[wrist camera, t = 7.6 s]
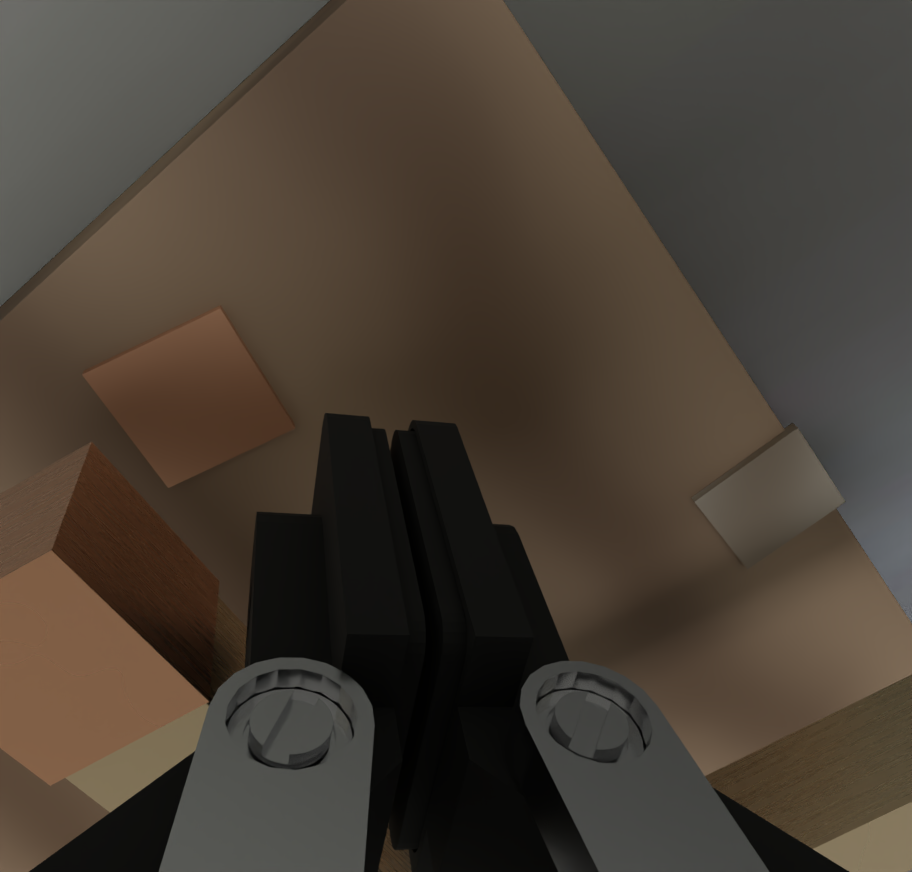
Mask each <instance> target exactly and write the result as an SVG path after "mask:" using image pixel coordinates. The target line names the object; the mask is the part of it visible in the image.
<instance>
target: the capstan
mask: <svg viewBox="0 0 912 872" xmlns="http://www.w3.org/2000/svg"><path fill="white" fill-rule="evenodd" d="M218 593H219V580H218V579H217V578H216V577H215V576H214V575H213V574H212V573H211V572H210V571H209V569H208V568H207V567H206V566H205V565H204V564H203V563H202V562H201V561H200V560H199V559H198V557H197V556H196V555H195V554H194V553H193V552H192V551H191V550H190V549H189V548H188V546H187V545H186V544H185V543H184V542H183V541H182V540H181V539H180V538H179V537H178V536H177V534H176V533H175V532H174V531H173V530H172V529H171V528H170V527H169V526H168V525H167V524H166V522H165V521H164V520H163V519H162V518H161V517H160V516H159V515H158V514H157V513H156V512H155V510H154V509H153V508H152V507H151V506H150V505H149V504H148V503H147V502H146V501H145V499H144V498H143V497H142V496H141V495H140V494H139V493H138V492H137V491H136V490H135V489H134V487H133V486H132V485H131V484H130V483H129V482H128V481H127V480H126V479H125V478H124V477H123V475H122V474H121V473H120V472H119V471H118V470H117V469H116V468H115V467H114V466H113V465H112V463H111V462H110V461H109V460H108V459H107V458H106V457H105V456H104V455H103V454H102V452H101V451H100V450H99V449H98V448H97V447H96V446H95V445H94V444H93V443H92V442H90V443H88V444H87V445H85V446H83V447H81V448H80V449H78V450H76V451H74V452H73V453H71V454H69V455H67V456H66V457H64V458H62V459H60V460H58V461H57V462H55V463H53V464H51V465H50V466H48V467H46V468H44V469H43V470H41V471H39V472H37V473H35V474H34V475H32V476H30V477H28V478H27V479H25V480H23V481H21V482H20V483H18V484H16V485H14V486H13V487H11V488H9V489H7V490H5V491H4V492H2V493H0V748H1V749H2V750H3V751H5V752H6V753H7V754H9V755H10V756H11V757H13V758H14V759H15V760H17V761H18V762H19V763H21V764H22V765H23V766H25V767H26V768H27V769H29V770H30V771H31V772H33V773H34V774H35V775H36V776H38V777H39V778H40V779H42V780H43V781H44V782H46V783H47V784H48V785H50V786H51V785H53V784H55V783H57V782H59V781H60V780H62V779H64V778H66V779H67V780H68V781H70V782H71V783H72V784H74V785H75V786H76V787H78V788H79V789H80V790H81V791H83V792H84V793H85V794H87V795H88V796H89V797H91V798H92V799H93V800H94V801H96V802H97V803H98V804H100V805H101V806H102V807H103V808H105V809H106V810H107V811H109V812H112V811H113V810H114V809H116V808H117V807H118V806H120V805H121V804H123V803H124V802H125V801H127V800H128V799H129V798H131V797H132V796H134V795H135V794H136V793H138V792H139V791H141V790H142V789H143V788H145V787H146V786H147V785H149V784H150V783H152V782H153V781H154V780H156V779H157V778H158V777H160V776H161V775H163V774H164V773H165V772H167V771H168V770H169V769H171V768H172V767H174V766H175V765H176V764H178V763H179V762H180V761H182V760H183V759H185V758H186V757H187V756H189V755H190V754H191V753H193V752H194V751H195V750H196V747H197V743H198V740H199V737H200V733H201V730H202V727H203V723H204V720H205V717H206V713H207V710H208V707H209V705H210V703H211V701H212V699H213V697H214V695H215V694H216V692H217V690H218V688H219V687H220V686H221V685H222V684H223V683H224V682H226V681H227V680H228V679H229V678H230V677H231V676H232V675H233V674H234V673H236V672H238V671H240V670H242V669H244V668H245V653H246V634H247V627H246V626H245V625H244V624H243V623H242V622H241V621H240V620H239V619H238V617H237V616H236V615H235V614H234V613H233V612H232V611H231V610H230V609H229V608H228V607H227V606H226V605H225V604H224V602H223V601H222V600H221V599H220V598H219V597H218ZM705 777H706V778H707V780H708V781H709V783H710V784H711V786H712V787H713V788H715V789H716V790H718V791H720V792H721V793H723V794H724V795H726V796H728V797H729V798H731V799H732V800H734V801H736V802H737V803H739V804H741V805H742V806H744V807H745V808H747V809H749V810H750V811H752V812H754V813H755V814H757V815H758V816H760V817H762V818H763V819H765V820H766V821H768V822H770V823H771V824H773V825H775V826H776V827H778V828H779V829H781V830H783V831H784V832H786V833H788V834H789V835H791V836H792V837H794V838H796V839H797V840H799V841H800V842H802V843H804V844H805V845H807V846H809V847H810V848H812V849H813V850H815V851H817V852H818V853H820V854H822V855H823V856H825V857H826V858H828V859H830V860H831V861H833V862H834V863H836V864H838V865H839V866H841V867H843V868H844V869H846V870H847V871H849V872H907V871H909V870H911V869H912V675H910V676H908V677H906V678H904V679H902V680H899V681H897V682H895V683H893V684H891V685H889V686H887V687H885V688H883V689H881V690H879V691H877V692H875V693H873V694H871V695H869V696H867V697H865V698H863V699H861V700H859V701H857V702H855V703H853V704H851V705H849V706H847V707H845V708H843V709H840V710H838V711H836V712H834V713H832V714H830V715H828V716H826V717H824V718H822V719H820V720H818V721H816V722H814V723H812V724H810V725H808V726H806V727H804V728H802V729H800V730H798V731H796V732H794V733H792V734H790V735H788V736H786V737H784V738H782V739H779V740H777V741H775V742H773V743H771V744H769V745H767V746H765V747H763V748H761V749H759V750H757V751H755V752H753V753H751V754H749V755H747V756H745V757H743V758H741V759H739V760H737V761H735V762H733V763H731V764H729V765H727V766H725V767H723V768H721V769H718V770H716V771H714V772H712V773H710V774H708V775H706V776H705ZM378 872H412V871H411V864H410V857H409V850H394V849H393V847H392V844H391V838H390V830H389V824H388V828H387V833H386V837H385V842H384V846H383V851H382V855H381V860H380V864H379V869H378Z"/></svg>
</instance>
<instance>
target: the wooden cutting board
mask: <svg viewBox="0 0 912 872" xmlns="http://www.w3.org/2000/svg"><path fill="white" fill-rule="evenodd" d="M325 413H333V414H345V415H357V416H368V417H369V418H370V421H371V427H372V428H379V429H385V431H386V434H387V439H388V444H389V449H390V448H391V442H392V437H393V434H394V431H395V430H406V431H408V428H409V425H410V423H411V421H412V420H420V421H432V422H444V423H455V424H456V426H457V427H458V430H459V433H460V436H461V438H462V441H463V444H464V447H465V449H466V452H467V455H468V458H469V460H470V463H471V466H472V469H473V471H474V474H475V477H476V480H477V482H478V485H479V488H480V491H481V493H482V496H483V499H484V502H485V504H486V507H487V510H488V513H489V515H490V518H491V521H492V524H505V525H511V526H513V527H515V529H516V531H517V532H518V534H519V536H520V539H521V541H522V544H523V546H524V549H525V551H526V554H527V556H528V559H529V561H530V564H531V566H532V569H533V571H534V574H535V576H536V579H537V581H538V584H539V586H540V589H541V591H542V594H543V596H544V599H545V601H546V604H547V606H548V608H549V611H550V613H551V616H552V618H553V621H554V623H555V626H556V628H557V631H558V633H559V636H560V638H561V641H562V643H563V646H564V648H565V651H566V653H567V656H568V658H569V661H584V662H588V663H592V664H596V665H600V666H604V667H606V668H609V669H611V670H613V671H615V672H617V673H619V674H621V675H624V676H625V677H627V678H628V679H630V680H631V681H632V682H634V683H635V684H636V685H638V686H639V687H640V688H642V689H643V690H644V691H645V692H646V693H647V694H648V696H649V697H650V698H651V699H652V700H653V701H654V702H655V704H656V705H657V706H658V707H659V709H660V710H661V712H662V713H663V715H664V716H665V718H666V719H667V721H668V722H669V724H670V725H671V727H672V728H673V730H674V731H675V733H676V734H677V735H678V737H679V738H680V740H681V741H682V743H683V744H684V746H685V747H686V749H687V750H688V752H689V753H690V755H691V756H692V758H693V759H694V761H695V762H696V764H697V765H698V767H699V768H700V770H701V771H702V773H703V774H704V776H706V775H708V774H710V773H712V772H714V771H716V770H718V769H721V768H723V767H725V766H727V765H729V764H731V763H733V762H735V761H737V760H739V759H741V758H743V757H745V756H747V755H749V754H751V753H753V752H755V751H757V750H759V749H761V748H763V747H765V746H767V745H769V744H771V743H773V742H775V741H777V740H779V739H782V738H784V737H786V736H788V735H790V734H792V733H794V732H796V731H798V730H800V729H802V728H804V727H806V726H808V725H810V724H812V723H814V722H816V721H818V720H820V719H822V718H824V717H826V716H828V715H830V714H832V713H834V712H836V711H838V710H840V709H843V708H845V707H847V706H849V705H851V704H853V703H855V702H857V701H859V700H861V699H863V698H865V697H867V696H869V695H871V694H873V693H875V692H877V691H879V690H881V689H883V688H885V687H887V686H889V685H891V684H893V683H895V682H897V681H899V680H902V679H904V678H906V677H908V676H910V675H912V623H911V622H910V620H909V619H908V617H907V616H906V614H905V613H904V611H903V609H902V608H901V606H900V605H899V603H898V602H897V600H896V599H895V597H894V596H893V594H892V593H891V591H890V590H889V588H888V587H887V585H886V584H885V582H884V580H883V579H882V577H881V576H880V574H879V573H878V571H877V570H876V568H875V567H874V565H873V564H872V562H871V561H870V559H869V558H868V556H867V555H866V553H865V552H864V550H863V548H862V547H861V545H860V544H859V542H858V541H857V539H856V538H855V536H854V535H853V533H852V532H851V530H850V529H849V527H848V526H847V524H846V523H845V521H844V519H843V518H842V516H841V515H840V513H839V512H838V510H837V509H836V508H838V507H839V506H840V505H842V504H843V503H845V500H844V499H843V497H842V496H841V494H840V493H839V491H838V489H837V488H836V486H835V485H834V483H833V482H832V480H831V479H830V477H829V475H828V474H827V472H826V471H825V469H824V468H823V466H822V464H821V463H820V461H819V460H818V458H817V457H816V455H815V454H814V452H813V450H812V449H811V447H810V446H809V444H808V443H807V441H806V440H805V438H804V436H803V435H802V433H801V432H800V430H799V429H798V427H797V426H795V425H794V424H793V423H791V424H790V425H789V426H787V427H786V428H785V429H784V428H783V426H782V425H781V423H780V422H779V420H778V419H777V417H776V416H775V414H774V413H773V411H772V410H771V408H770V407H769V405H768V404H767V402H766V400H765V399H764V397H763V396H762V394H761V393H760V391H759V390H758V388H757V387H756V385H755V384H754V382H753V381H752V379H751V378H750V376H749V375H748V373H747V371H746V370H745V368H744V367H743V365H742V364H741V362H740V361H739V359H738V358H737V356H736V355H735V353H734V352H733V350H732V349H731V347H730V346H729V344H728V343H727V341H726V339H725V338H724V336H723V335H722V333H721V332H720V330H719V329H718V327H717V326H716V324H715V323H714V321H713V320H712V318H711V317H710V315H709V314H708V312H707V310H706V309H705V307H704V306H703V304H702V303H701V301H700V300H699V298H698V297H697V295H696V294H695V292H694V291H693V289H692V288H691V286H690V285H689V283H688V281H687V280H686V278H685V277H684V275H683V274H682V272H681V271H680V269H679V268H678V266H677V265H676V263H675V262H674V260H673V259H672V257H671V256H670V254H669V253H668V251H667V249H666V248H665V246H664V245H663V243H662V242H661V240H660V239H659V237H658V236H657V234H656V233H655V231H654V230H653V228H652V227H651V225H650V224H649V222H648V220H647V219H646V217H645V216H644V214H643V213H642V211H641V210H640V208H639V207H638V205H637V204H636V202H635V201H634V199H633V198H632V196H631V195H630V193H629V191H628V190H627V188H626V187H625V185H624V184H623V182H622V181H621V179H620V178H619V176H618V175H617V173H616V172H615V170H614V169H613V167H612V166H611V164H610V162H609V161H608V159H607V158H606V156H605V155H604V153H603V152H602V150H601V149H600V147H599V146H598V144H597V143H596V141H595V140H594V138H593V137H592V135H591V134H590V132H589V130H588V129H587V127H586V126H585V124H584V123H583V121H582V120H581V118H580V117H579V115H578V114H577V112H576V111H575V109H574V108H573V106H572V105H571V103H570V101H569V100H568V98H567V97H566V95H565V94H564V92H563V91H562V89H561V88H560V86H559V85H558V83H557V82H556V80H555V79H554V77H553V76H552V74H551V72H550V71H549V69H548V68H547V66H546V65H545V63H544V62H543V60H542V59H541V57H540V56H539V54H538V53H537V51H536V50H535V48H534V47H533V45H532V44H531V42H530V40H529V39H528V37H527V36H526V34H525V33H524V31H523V30H522V28H521V27H520V25H519V24H518V22H517V21H516V19H515V18H514V16H513V15H512V13H511V11H510V10H509V8H508V7H507V5H506V4H505V2H504V1H503V0H330V1H329V2H328V3H327V4H326V5H325V6H324V7H323V8H322V9H321V10H319V11H318V12H317V13H316V14H315V15H314V16H313V17H312V18H311V19H310V20H309V21H308V22H307V23H305V24H304V25H303V26H302V27H301V28H300V29H299V30H298V31H297V32H296V33H295V34H294V35H293V36H291V37H290V38H289V39H288V40H287V41H286V42H285V43H284V44H283V45H282V46H281V47H280V48H279V49H277V50H276V51H275V52H274V53H273V54H272V55H271V56H270V57H269V58H268V59H267V60H266V61H265V62H264V63H262V64H261V65H260V66H259V67H258V68H257V69H256V70H255V71H254V72H253V73H252V74H251V75H250V76H248V77H247V78H246V79H245V80H244V81H243V82H242V83H241V84H240V85H239V86H238V87H237V88H236V89H234V90H233V91H232V92H231V93H230V94H229V95H228V96H227V97H226V98H225V99H224V100H223V101H222V102H220V103H219V104H218V105H217V106H216V107H215V108H214V109H213V110H212V111H211V112H210V113H209V114H208V115H206V116H205V117H204V118H203V119H202V120H201V121H200V122H199V123H198V124H197V125H196V126H195V127H194V128H192V129H191V130H190V131H189V132H188V133H187V134H186V135H185V136H184V137H183V138H182V139H181V140H180V141H178V142H177V143H176V144H175V145H174V146H173V147H172V148H171V149H170V150H169V151H168V152H167V153H166V154H164V155H163V156H162V157H161V158H160V159H159V160H158V161H157V162H156V163H155V164H154V165H153V166H152V167H151V168H149V169H148V170H147V171H146V172H145V173H144V174H143V175H142V176H141V177H140V178H139V179H138V180H137V181H135V182H134V183H133V184H132V185H131V186H130V187H129V188H128V189H127V190H126V191H125V192H124V193H123V194H121V195H120V196H119V197H118V198H117V199H116V200H115V201H114V202H113V203H112V204H111V205H110V206H109V207H107V208H106V209H105V210H104V211H103V212H102V213H101V214H100V215H99V216H98V217H97V218H96V219H95V220H93V221H92V222H91V223H90V224H89V225H88V226H87V227H86V228H85V229H84V230H83V231H82V232H81V233H79V234H78V235H77V236H76V237H75V238H74V239H73V240H72V241H71V242H70V243H69V244H68V245H67V246H65V247H64V248H63V249H62V250H61V251H60V252H59V253H58V254H57V255H56V256H55V257H54V258H53V259H51V260H50V261H49V262H48V263H47V264H46V265H45V266H44V267H43V268H42V269H41V270H40V271H39V272H38V273H36V274H35V275H34V276H33V277H32V278H31V279H30V280H29V281H28V282H27V283H26V284H25V285H24V286H22V287H21V288H20V289H19V290H18V291H17V292H16V293H15V294H14V295H13V296H12V297H11V298H10V299H8V300H7V301H6V302H5V303H4V304H3V305H2V306H1V307H0V493H2V492H4V491H5V490H7V489H9V488H11V487H13V486H14V485H16V484H18V483H20V482H21V481H23V480H25V479H27V478H28V477H30V476H32V475H34V474H35V473H37V472H39V471H41V470H43V469H44V468H46V467H48V466H50V465H51V464H53V463H55V462H57V461H58V460H60V459H62V458H64V457H66V456H67V455H69V454H71V453H73V452H74V451H76V450H78V449H80V448H81V447H83V446H85V445H87V444H88V443H90V442H92V443H93V444H94V445H95V446H96V447H97V448H98V449H99V450H100V451H101V452H102V454H103V455H104V456H105V457H106V458H107V459H108V460H109V461H110V462H111V463H112V465H113V466H114V467H115V468H116V469H117V470H118V471H119V472H120V473H121V474H122V475H123V477H124V478H125V479H126V480H127V481H128V482H129V483H130V484H131V485H132V486H133V487H134V489H135V490H136V491H137V492H138V493H139V494H140V495H141V496H142V497H143V498H144V499H145V501H146V502H147V503H148V504H149V505H150V506H151V507H152V508H153V509H154V510H155V512H156V513H157V514H158V515H159V516H160V517H161V518H162V519H163V520H164V521H165V522H166V524H167V525H168V526H169V527H170V528H171V529H172V530H173V531H174V532H175V533H176V534H177V536H178V537H179V538H180V539H181V540H182V541H183V542H184V543H185V544H186V545H187V546H188V548H189V549H190V550H191V551H192V552H193V553H194V554H195V555H196V556H197V557H198V559H199V560H200V561H201V562H202V563H203V564H204V565H205V566H206V567H207V568H208V569H209V571H210V572H211V573H212V574H213V575H214V576H215V577H216V578H217V579H218V580H219V593H218V597H219V598H220V599H221V600H222V601H223V602H224V604H225V605H226V606H227V607H228V608H229V609H230V610H231V611H232V612H233V613H234V614H235V615H236V616H237V617H238V619H239V620H240V621H241V622H242V623H243V624H244V625H245V626H246V627H247V618H248V603H249V589H250V577H251V565H252V554H253V542H254V531H255V521H256V513H257V512H275V513H294V514H311V511H312V503H313V495H314V487H315V479H316V472H317V464H318V456H319V448H320V440H321V432H322V425H323V419H324V415H325ZM109 813H110V812H109V811H107V810H106V809H105V808H103V807H102V806H101V805H100V804H98V803H97V802H96V801H94V800H93V799H92V798H91V797H89V796H88V795H87V794H85V793H84V792H83V791H81V790H80V789H79V788H78V787H76V786H75V785H74V784H72V783H71V782H70V781H68V780H67V779H66V778H64V779H62V780H60V781H59V782H57V783H55V784H53V785H51V786H50V785H48V784H47V783H46V782H44V781H43V780H42V779H40V778H39V777H38V776H36V775H35V774H34V773H33V772H31V771H30V770H29V769H27V768H26V767H25V766H23V765H22V764H21V763H19V762H18V761H17V760H15V759H14V758H13V757H11V756H10V755H9V754H7V753H6V752H5V751H3V750H2V749H1V748H0V872H29V871H30V870H32V869H33V868H35V867H36V866H37V865H39V864H40V863H41V862H43V861H44V860H46V859H47V858H48V857H50V856H51V855H52V854H54V853H55V852H57V851H58V850H59V849H61V848H62V847H63V846H65V845H66V844H68V843H69V842H70V841H72V840H73V839H74V838H76V837H77V836H79V835H80V834H81V833H83V832H84V831H85V830H87V829H88V828H90V827H91V826H92V825H94V824H95V823H96V822H98V821H99V820H101V819H102V818H103V817H105V816H106V815H107V814H109Z"/></svg>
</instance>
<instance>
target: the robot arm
mask: <svg viewBox="0 0 912 872" xmlns="http://www.w3.org/2000/svg"><path fill="white" fill-rule="evenodd" d="M388 824H389V830H390V838H391V844H392V847H393V849H394V850H409V857H410V864H411V871H412V872H849V871H847V870H846V869H844V868H843V867H841V866H839V865H838V864H836V863H834V862H833V861H831V860H830V859H828V858H826V857H825V856H823V855H822V854H820V853H818V852H817V851H815V850H813V849H812V848H810V847H809V846H807V845H805V844H804V843H802V842H800V841H799V840H797V839H796V838H794V837H792V836H791V835H789V834H788V833H786V832H784V831H783V830H781V829H779V828H778V827H776V826H775V825H773V824H771V823H770V822H768V821H766V820H765V819H763V818H762V817H760V816H758V815H757V814H755V813H754V812H752V811H750V810H749V809H747V808H745V807H744V806H742V805H741V804H739V803H737V802H736V801H734V800H732V799H731V798H729V797H728V796H726V795H724V794H723V793H721V792H720V791H718V790H716V789H715V788H713V787H712V786H711V784H710V783H709V781H708V780H707V778H706V777H705V776H704V774H703V773H702V771H701V770H700V768H699V767H698V765H697V764H696V762H695V761H694V759H693V758H692V756H691V755H690V753H689V752H688V750H687V749H686V747H685V746H684V744H683V743H682V741H681V740H680V738H679V737H678V735H677V734H676V733H675V731H674V730H673V728H672V727H671V725H670V724H669V722H668V721H667V719H666V718H665V716H664V715H663V713H662V712H661V710H660V709H659V707H658V706H657V705H656V704H655V702H654V701H653V700H652V699H651V698H650V697H649V696H648V694H647V693H646V692H645V691H644V690H643V689H642V688H640V687H639V686H638V685H636V684H635V683H634V682H632V681H631V680H630V679H628V678H627V677H625V676H624V675H621V674H619V673H617V672H615V671H613V670H611V669H609V668H606V667H604V666H600V665H596V664H592V663H588V662H584V661H569V658H568V656H567V653H566V651H565V648H564V646H563V643H562V641H561V638H560V636H559V633H558V631H557V628H556V626H555V623H554V621H553V618H552V616H551V613H550V611H549V608H548V606H547V604H546V601H545V599H544V596H543V594H542V591H541V589H540V586H539V584H538V581H537V579H536V576H535V574H534V571H533V569H532V566H531V564H530V561H529V559H528V556H527V554H526V551H525V549H524V546H523V544H522V541H521V539H520V536H519V534H518V532H517V531H516V529H515V527H513V526H511V525H505V524H492V521H491V518H490V515H489V513H488V510H487V507H486V504H485V502H484V499H483V496H482V493H481V491H480V488H479V485H478V482H477V480H476V477H475V474H474V471H473V469H472V466H471V463H470V460H469V458H468V455H467V452H466V449H465V447H464V444H463V441H462V438H461V436H460V433H459V430H458V427H457V426H456V424H455V423H444V422H432V421H420V420H412V421H411V423H410V425H409V428H408V431H406V430H395V431H394V434H393V437H392V442H391V448H390V449H389V444H388V439H387V434H386V431H385V429H379V428H372V427H371V421H370V418H369V417H368V416H357V415H345V414H333V413H325V415H324V419H323V425H322V432H321V440H320V448H319V456H318V464H317V472H316V479H315V487H314V495H313V503H312V511H311V514H294V513H275V512H257V513H256V521H255V531H254V542H253V554H252V565H251V577H250V589H249V603H248V618H247V634H246V653H245V668H244V669H242V670H240V671H238V672H236V673H234V674H233V675H232V676H231V677H230V678H229V679H228V680H227V681H226V682H224V683H223V684H222V685H221V686H220V687H219V688H218V690H217V692H216V694H215V695H214V697H213V699H212V701H211V703H210V705H209V707H208V710H207V713H206V717H205V720H204V723H203V727H202V730H201V733H200V737H199V740H198V743H197V747H196V750H195V751H194V752H193V753H191V754H190V755H189V756H187V757H186V758H185V759H183V760H182V761H180V762H179V763H178V764H176V765H175V766H174V767H172V768H171V769H169V770H168V771H167V772H165V773H164V774H163V775H161V776H160V777H158V778H157V779H156V780H154V781H153V782H152V783H150V784H149V785H147V786H146V787H145V788H143V789H142V790H141V791H139V792H138V793H136V794H135V795H134V796H132V797H131V798H129V799H128V800H127V801H125V802H124V803H123V804H121V805H120V806H118V807H117V808H116V809H114V810H113V811H112V812H110V813H109V814H107V815H106V816H105V817H103V818H102V819H101V820H99V821H98V822H96V823H95V824H94V825H92V826H91V827H90V828H88V829H87V830H85V831H84V832H83V833H81V834H80V835H79V836H77V837H76V838H74V839H73V840H72V841H70V842H69V843H68V844H66V845H65V846H63V847H62V848H61V849H59V850H58V851H57V852H55V853H54V854H52V855H51V856H50V857H48V858H47V859H46V860H44V861H43V862H41V863H40V864H39V865H37V866H36V867H35V868H33V869H32V870H30V871H29V872H378V869H379V864H380V860H381V855H382V851H383V846H384V842H385V837H386V833H387V828H388Z"/></svg>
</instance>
